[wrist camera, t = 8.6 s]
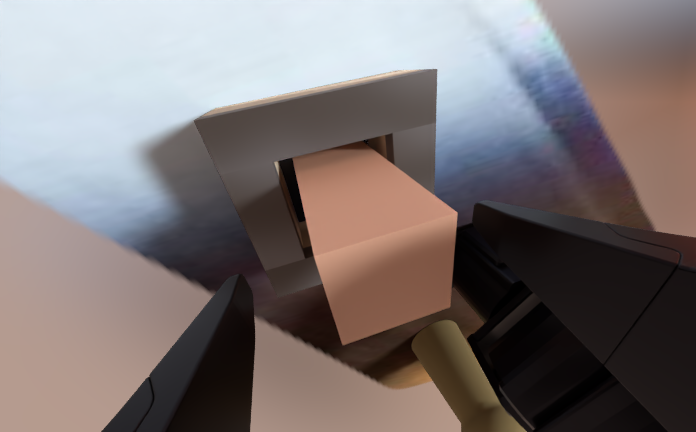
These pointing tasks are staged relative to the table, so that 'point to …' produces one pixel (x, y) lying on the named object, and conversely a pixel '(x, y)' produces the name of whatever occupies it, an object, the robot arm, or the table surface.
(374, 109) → the socket block
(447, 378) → the beige pepper mill
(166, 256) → the table surface
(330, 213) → the square peg
